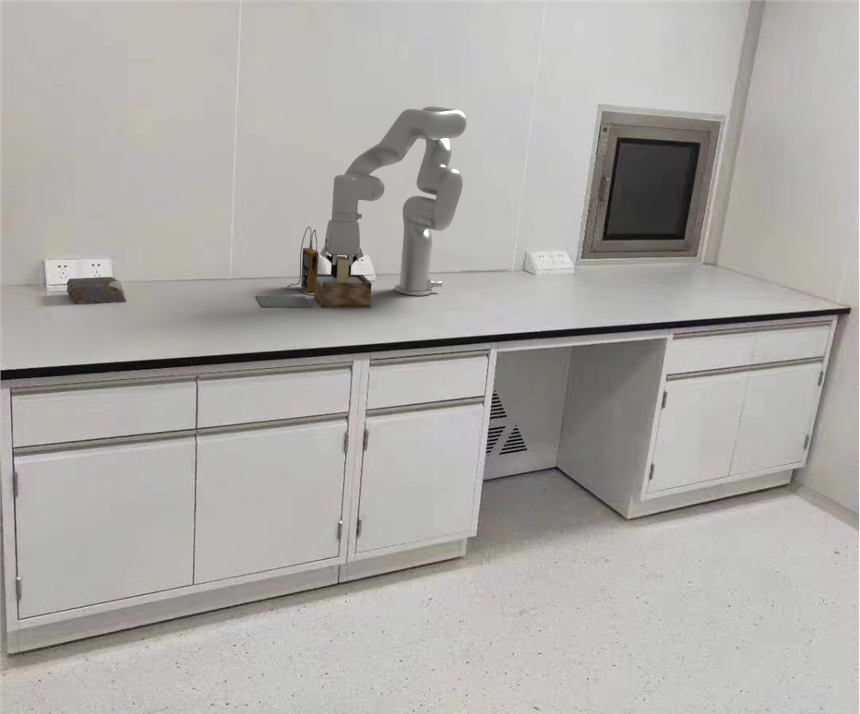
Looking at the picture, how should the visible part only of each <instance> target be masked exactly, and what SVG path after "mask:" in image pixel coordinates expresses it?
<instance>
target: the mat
mask: <svg viewBox="0 0 860 714" xmlns="http://www.w3.org/2000/svg"><path fill="white" fill-rule="evenodd" d="M255 298H256V300H257V299H258V300H257V302H258V301H259V302H258V304H259V303H260V304H259V306H260V305H261V306H260V307H261V308H276V307H282V308H283V307H284V309H287V308H291V309H292V308H293V309H294V308H297V309H298V308H299V309H301V308H302V309H304V308H311V309H312V308H313V306H312V305H311V303H310V302H309V300H308V299H307V298H306V296H302V295H301V296H298V295H297V296H295V295H294V296H293V295H288V296H287V295H256V296H255Z"/></svg>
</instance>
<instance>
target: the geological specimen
mask: <svg viewBox="0 0 860 714" xmlns="http://www.w3.org/2000/svg"><path fill="white" fill-rule="evenodd" d="M66 285H67V286H66V292H67V295H68V296H72V297H73V301H74V304H75V305H90V304H91V305H92V304H95V305H96V304H114V303H113V302H116V303H126V302H127V300H126V297H125V293H126V291H125V290H124V288H123V286H122V284H121V282H120V280H118V279H116V278H115V277H113V276H99V277H98V276H97V277H82V278H81V277H80V278H77V277H76V278H69V279H68V281H67V282H66Z"/></svg>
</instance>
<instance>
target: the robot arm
mask: <svg viewBox="0 0 860 714" xmlns="http://www.w3.org/2000/svg"><path fill="white" fill-rule="evenodd" d="M466 127H467V118H466V115H465V114H464V112H463V111H461V110H459V109H455V108H450V107H449V108H448V107H441V106H426V107H423V108H422V109H415V108H408V109H404V110H403V111H402V112H400V113H399V115H398V117H396V120H395V121H394V122H393V124H392V125H391V126H390V127H389V129H388V131H387V132H386V134H385V135H384V136H383V138H382V139H381V140H380V142H379V143H377V144H375V145H374V146H372V147H370V148H369V149H367V150H366V151H364V152H363V153H361V154H360V155H358V157H356V158H355V159H354V160H353V161H352V163H351V164H350V165H349V167H348V168H347V170H346V171H345V173H344V174H338V175H335V176H334V179H333V188H332V190H333V191H332V206H331V207H332V208H331V209H332V210H331V219H330V220H329V219H328V222H327V226H326V232H325V237H324V238H325V239H324V246H323V248H322V249H321V251H320V252H319V254H320V256H321V257H323V258H324V259H326V260H327V261H328V262H329V263H331V264H330V266H331V267H330V274H331V275H332V276H333V277H334V278H336V277H337V265H336V260H337V256H346V258H347V259H348V260H349V272H348V278H349V275H352V266H353V265H354V263H355V262H356V261H358V260H360V259H362V258H363V257H364V252H363V251H362V248H361V239H360V238H361V236H360V235H361V233H360V225H359V221H358V220H359V219H362V218H363V217H362V213H359V212H358V210H359V209H358V207H359V201H367V202H375V201H378V200H379V199H381V198H382V197H383V195H384V194H385V193H384V192H385V184H384V182H383V181H382V180H381V179H380V178H379V177H378V176H375V175H370V174H372V173H373V172H374V171H376V170H379V169H381V168H384V167H387V166H390V165H393V164H396V163H399V162H401V161H402V160H403V159H404V158H405V156H406V155H407V154H408V152H409V150H410V149H411V148H412V146H413V145H414V144H415V142H416V141H417V140H418V139H422V140H425V150H424V154H423V158H422V161H421V165H420V168H419V170H418V173H417V176H416V177H417V178H416V187H417V189H418V190H419V191H420V192H422V193H425V194H428V195H433V196H436V197H435V198H430V197H426V196H423V195H413V196H410V197H408V198H407V199H406V201H405V202H404V203H403V205H402V206H403V207H402V221H403V238H402V239H403V240H402V252H401V263H400V275H399V276H400V277H399V283H398V284H396V285H395V286H394V291H395V292H397V293H400V294H402V295H408V296H418V297H419V296H420V297H421V296H428V295H431V294H432V293H433V289H432V288H442V286H443V283H442V281H438V280H432V279H430V278H429V276H430V265H431V257H432V247H433V235H432V232H431V230H433V231H437V232H442V231H445V230H446V229H448V228H449V227H450V225H451V224H452V223H453V219H454V216H455V214H456V211H457V207H458V204H459V201H460V197H461V195H462V190H463V176H462V174H461V172H460V171H459V170H458V169H455V168H453V167H450V166H449V164H450V161H451V157H452V144H451V141H450V139H454V138H457V137H460V136H461V135H462V134H463V133H464V132H465V131H466Z"/></svg>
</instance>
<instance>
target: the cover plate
mask: <svg viewBox="0 0 860 714" xmlns="http://www.w3.org/2000/svg"><path fill="white" fill-rule="evenodd" d="M336 265H337V277H336V278H334V277H316V280H317V281H318V282H319V284H320V285H321V286H322V285H323V282H338V283H363V282H362V281H361V280H360V279H358V278H357V277H349V278H348V272H349V260H348V259H347V256H346V255H337V260H336Z"/></svg>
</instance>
